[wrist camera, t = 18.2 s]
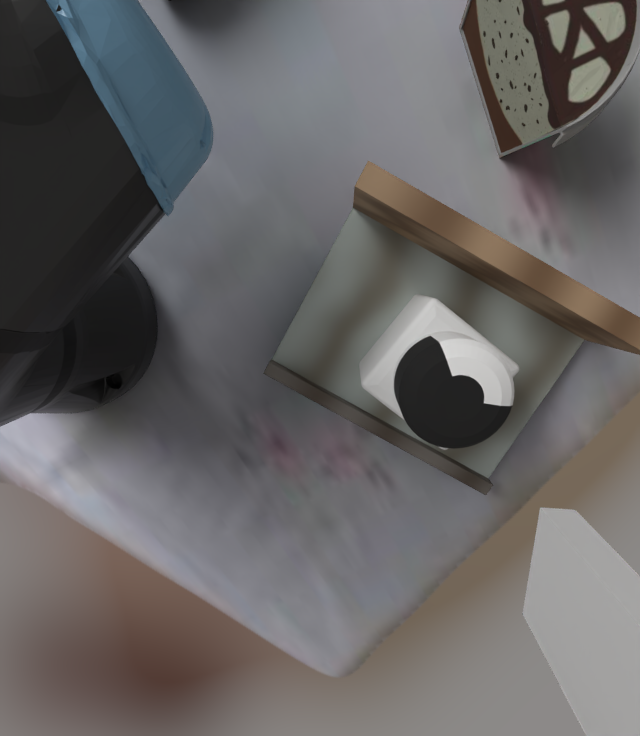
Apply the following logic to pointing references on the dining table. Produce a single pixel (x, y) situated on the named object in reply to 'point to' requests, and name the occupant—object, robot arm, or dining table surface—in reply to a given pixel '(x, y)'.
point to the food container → (548, 63)
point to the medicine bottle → (440, 375)
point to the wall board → (457, 292)
